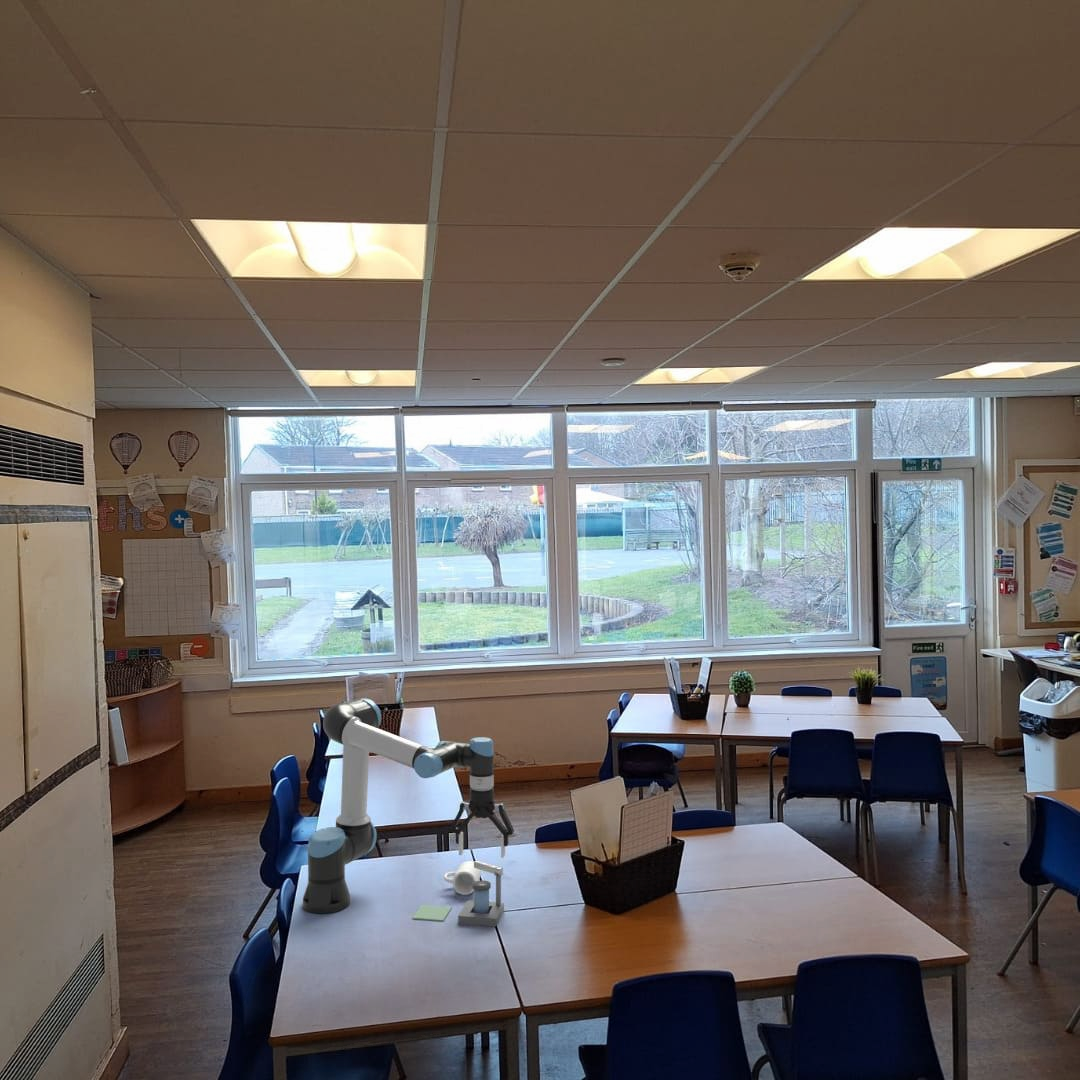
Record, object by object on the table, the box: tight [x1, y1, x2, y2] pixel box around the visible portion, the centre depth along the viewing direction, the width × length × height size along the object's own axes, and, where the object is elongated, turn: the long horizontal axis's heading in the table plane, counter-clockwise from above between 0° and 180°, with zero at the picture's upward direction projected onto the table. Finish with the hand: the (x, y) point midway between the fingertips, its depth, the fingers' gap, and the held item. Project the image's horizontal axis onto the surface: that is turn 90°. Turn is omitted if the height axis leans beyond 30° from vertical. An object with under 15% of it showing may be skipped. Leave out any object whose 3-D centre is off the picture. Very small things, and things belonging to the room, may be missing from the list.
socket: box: [457, 875, 505, 928], centre depth 287 cm, size 12×12×12 cm
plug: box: [472, 880, 492, 914], centre depth 287 cm, size 6×6×10 cm
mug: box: [443, 860, 482, 896], centre depth 310 cm, size 12×10×8 cm
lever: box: [473, 860, 504, 877], centre depth 293 cm, size 11×3×2 cm, turn 52°
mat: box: [412, 904, 453, 922], centre depth 290 cm, size 10×10×1 cm
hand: (482, 855), depth 287 cm, fingers open, 13 cm apart
